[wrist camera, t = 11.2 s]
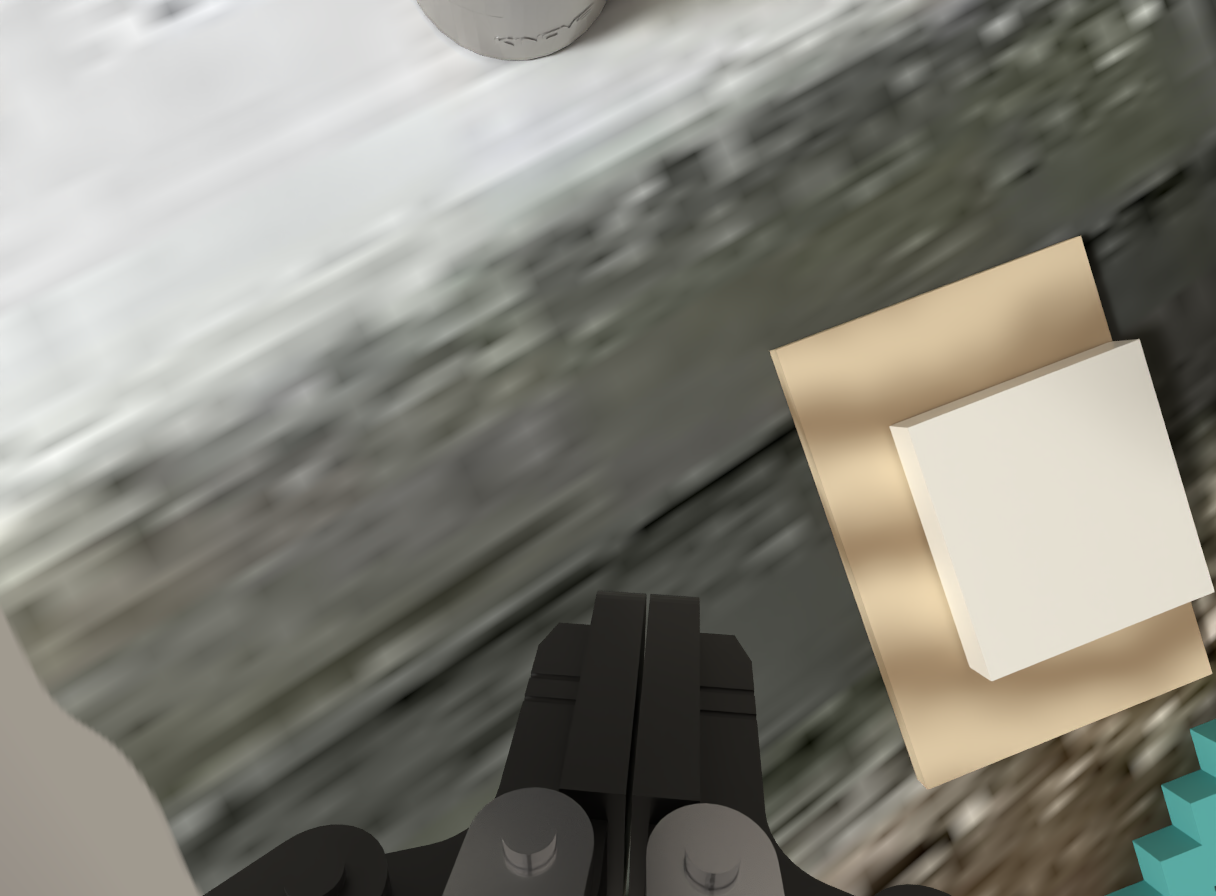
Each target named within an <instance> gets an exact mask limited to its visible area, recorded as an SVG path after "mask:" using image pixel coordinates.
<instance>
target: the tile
mask: <svg viewBox="0 0 1216 896" xmlns="http://www.w3.org/2000/svg"><path fill="white" fill-rule="evenodd" d="M889 427H890V430H891V433H892V436H893V439H894V442H895V445H896V448H897V451H898V454H899V457H900V460H901V463H902V466H903V469H904V472H905V475H906V478H907V481H908V484H909V487H910V490H911V493H912V496H913V499H914V502H915V505H916V508H917V511H918V514H919V517H920V520H921V523H922V526H923V529H924V532H925V535H926V538H927V541H928V544H929V547H930V550H931V553H932V556H933V559H934V562H935V565H936V568H937V571H938V574H939V577H940V580H941V583H942V586H943V589H944V592H945V595H946V598H947V601H948V604H949V607H950V610H951V613H952V616H953V619H954V622H955V625H956V628H957V631H958V634H959V637H960V640H961V643H962V646H963V649H964V652H965V655H966V658H967V661H968V664H969V667H970V668H972V669H973V670H975V671H976V672H978V673H979V674H981V675H982V676H984V677H985V678H987V679H988V680H990V681H994V680H997V679H999V678H1002V677H1004V676H1007V675H1009V674H1012V673H1014V672H1017V671H1019V670H1022V669H1024V668H1027V667H1029V666H1031V665H1034V664H1036V663H1039V662H1041V661H1044V660H1046V659H1049V658H1051V657H1054V656H1056V655H1059V654H1061V653H1064V652H1066V651H1069V650H1071V649H1074V648H1076V647H1079V646H1081V645H1084V644H1086V643H1089V642H1091V641H1094V640H1096V639H1099V638H1101V637H1104V636H1106V635H1109V634H1111V633H1114V632H1116V631H1118V630H1121V629H1123V628H1126V627H1128V626H1131V625H1133V624H1136V623H1138V622H1141V621H1143V620H1146V619H1148V618H1151V617H1153V616H1156V615H1158V614H1161V613H1163V612H1166V611H1168V610H1171V609H1173V608H1176V607H1178V606H1181V605H1183V604H1186V603H1188V602H1191V601H1193V600H1196V599H1198V598H1201V597H1203V596H1205V595H1208V594H1210V593H1213V592H1214V588H1213V585H1212V582H1211V578H1210V575H1209V571H1208V568H1207V565H1206V561H1205V558H1204V555H1203V551H1202V548H1201V545H1200V541H1199V538H1198V534H1197V531H1196V528H1195V524H1194V521H1193V518H1192V514H1191V511H1190V508H1189V504H1188V501H1187V497H1186V494H1185V491H1184V487H1183V484H1182V481H1181V477H1180V474H1179V471H1178V467H1177V464H1176V460H1175V457H1174V454H1173V450H1172V447H1171V444H1170V440H1169V437H1168V433H1167V430H1166V427H1165V423H1164V420H1163V417H1162V413H1161V410H1160V407H1159V403H1158V400H1157V396H1156V393H1155V390H1154V386H1153V383H1152V380H1151V376H1150V373H1149V370H1148V366H1147V363H1146V359H1145V356H1144V353H1143V349H1142V346H1141V343H1140V339H1135V340H1124V341H1112V342H1108V343H1105V344H1102V345H1100V346H1097V347H1095V348H1092V349H1089V350H1087V351H1084V352H1082V353H1079V354H1076V355H1074V356H1071V357H1068V358H1066V359H1063V360H1061V361H1058V362H1055V363H1053V364H1050V365H1048V366H1045V367H1042V368H1040V369H1037V370H1034V371H1032V372H1029V373H1027V374H1024V375H1021V376H1019V377H1016V378H1014V379H1011V380H1008V381H1006V382H1003V383H1000V384H998V385H995V386H993V387H990V388H987V389H985V390H982V391H980V392H977V393H974V394H972V395H969V396H966V397H964V398H961V399H959V400H956V401H953V402H951V403H948V404H946V405H943V406H940V407H938V408H935V409H932V410H930V411H927V412H925V413H922V414H919V415H917V416H914V417H911V418H909V419H906V420H904V421H901V422H898V423H896V424H893V425H891V426H889Z"/></svg>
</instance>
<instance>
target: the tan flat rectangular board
mask: <svg viewBox="0 0 1216 896" xmlns="http://www.w3.org/2000/svg"><path fill="white" fill-rule="evenodd" d="M1108 342H1112V338H1111V335H1110V331H1109V328H1108V325H1107V321H1106V318H1105V315H1104V311H1103V308H1102V305H1101V301H1100V298H1099V295H1098V291H1097V288H1096V285H1095V281H1094V278H1093V275H1092V272H1091V268H1090V265H1089V262H1088V258H1087V255H1086V252H1085V248H1084V245H1083V242H1082V238H1081V236H1078V237H1074V238H1071V239H1068V240H1065V241H1062V242H1059V243H1057V244H1054V245H1051V246H1049V247H1046V248H1043V249H1041V250H1038V251H1035V252H1033V253H1030V254H1027V255H1024V256H1022V257H1019V258H1016V259H1014V260H1011V261H1008V262H1006V263H1003V264H1000V265H998V266H995V267H992V268H990V269H987V270H984V271H982V272H979V273H976V274H974V275H971V276H968V277H966V278H963V279H960V280H958V281H955V282H952V283H950V284H947V285H944V286H942V287H939V288H936V289H934V290H931V291H928V292H926V293H923V294H920V295H918V296H915V297H912V298H910V299H907V300H904V301H902V302H899V303H896V304H894V305H891V306H888V307H886V308H883V309H880V310H878V311H875V312H872V313H869V314H867V315H864V316H861V317H859V318H856V319H853V320H851V321H848V322H845V323H843V324H840V325H837V326H835V327H832V328H829V329H827V330H824V331H821V332H819V333H816V334H813V335H811V336H808V337H805V338H803V339H800V340H797V341H795V342H792V343H789V344H787V345H784V346H781V347H779V348H776V349H773V350H771V351H770V354H771V357H772V359H773V362H774V365H775V368H776V371H777V374H778V377H779V380H780V383H781V385H782V388H783V391H784V394H785V397H786V400H787V403H788V406H789V409H790V412H791V414H792V417H793V420H794V423H795V426H796V429H797V432H798V435H799V438H800V440H801V443H802V446H803V449H804V452H805V455H806V458H807V461H808V464H809V466H810V469H811V472H812V475H813V478H814V481H815V484H816V487H817V490H818V493H819V495H820V498H821V501H822V504H823V507H824V510H825V513H826V516H827V519H828V521H829V524H830V527H831V530H832V533H833V536H834V539H835V542H836V545H837V547H838V550H839V553H840V556H841V559H842V562H843V565H844V568H845V571H846V574H847V576H848V579H849V582H850V585H851V588H852V591H853V594H854V597H855V600H856V602H857V605H858V608H859V611H860V614H861V617H862V620H863V623H864V626H865V629H866V631H867V634H868V637H869V640H870V643H871V646H872V649H873V652H874V655H875V657H876V660H877V663H878V666H879V669H880V672H881V675H882V678H883V681H884V683H885V686H886V689H887V692H888V695H889V698H890V701H891V704H892V707H893V710H894V712H895V715H896V718H897V721H898V724H899V727H900V730H901V733H902V736H903V738H904V741H905V744H906V747H907V750H908V753H909V756H910V759H911V762H912V764H913V767H914V770H915V773H916V776H917V779H918V780H919V781H920V782H921V783H922V784H923V785H924V786H925V788H926V789H927V790H928V789H931V788H933V787H936V786H938V785H940V784H943V783H945V782H948V781H950V780H953V779H955V778H958V777H960V776H962V775H965V774H967V773H970V772H972V771H975V770H977V769H980V768H982V767H985V766H987V765H989V764H992V763H994V762H997V761H999V760H1002V759H1004V758H1007V757H1009V756H1012V755H1014V754H1016V753H1019V752H1021V751H1024V750H1026V749H1029V748H1031V747H1034V746H1036V745H1038V744H1041V743H1043V742H1046V741H1048V740H1051V739H1053V738H1056V737H1058V736H1061V735H1063V734H1065V733H1068V732H1070V731H1073V730H1075V729H1078V728H1080V727H1083V726H1085V725H1088V724H1090V723H1092V722H1095V721H1097V720H1100V719H1102V718H1105V717H1107V716H1110V715H1112V714H1115V713H1117V712H1119V711H1122V710H1124V709H1127V708H1129V707H1132V706H1134V705H1137V704H1139V703H1141V702H1144V701H1146V700H1149V699H1151V698H1154V697H1156V696H1159V695H1161V694H1164V693H1166V692H1168V691H1171V690H1173V689H1176V688H1178V687H1181V686H1183V685H1186V684H1188V683H1191V682H1193V681H1195V680H1198V679H1200V678H1203V677H1205V676H1208V675H1210V674H1212V671H1211V667H1210V664H1209V661H1208V657H1207V654H1206V651H1205V647H1204V644H1203V641H1202V637H1201V634H1200V631H1199V627H1198V624H1197V621H1196V617H1195V614H1194V611H1193V607H1192V604H1191V602H1188V603H1186V604H1183V605H1181V606H1178V607H1176V608H1173V609H1171V610H1168V611H1166V612H1163V613H1161V614H1158V615H1156V616H1153V617H1151V618H1148V619H1146V620H1143V621H1141V622H1138V623H1136V624H1133V625H1131V626H1128V627H1126V628H1123V629H1121V630H1118V631H1116V632H1114V633H1111V634H1109V635H1106V636H1104V637H1101V638H1099V639H1096V640H1094V641H1091V642H1089V643H1086V644H1084V645H1081V646H1079V647H1076V648H1074V649H1071V650H1069V651H1066V652H1064V653H1061V654H1059V655H1056V656H1054V657H1051V658H1049V659H1046V660H1044V661H1041V662H1039V663H1036V664H1034V665H1031V666H1029V667H1027V668H1024V669H1022V670H1019V671H1017V672H1014V673H1012V674H1009V675H1007V676H1004V677H1002V678H999V679H997V680H994V681H990V680H988V679H987V678H985V677H984V676H982V675H981V674H979V673H978V672H976V671H975V670H973V669H972V668H970V667H969V664H968V661H967V658H966V655H965V652H964V649H963V646H962V643H961V640H960V637H959V634H958V631H957V628H956V625H955V622H954V619H953V616H952V613H951V610H950V607H949V604H948V601H947V598H946V595H945V592H944V589H943V586H942V583H941V580H940V577H939V574H938V571H937V568H936V565H935V562H934V559H933V556H932V553H931V550H930V547H929V544H928V541H927V538H926V535H925V532H924V529H923V526H922V523H921V520H920V517H919V514H918V511H917V508H916V505H915V502H914V499H913V496H912V493H911V490H910V487H909V484H908V481H907V478H906V475H905V472H904V469H903V466H902V463H901V460H900V457H899V454H898V451H897V448H896V445H895V442H894V439H893V436H892V433H891V430H890V427H889V426H891V425H893V424H896V423H898V422H901V421H904V420H906V419H909V418H911V417H914V416H917V415H919V414H922V413H925V412H927V411H930V410H932V409H935V408H938V407H940V406H943V405H946V404H948V403H951V402H953V401H956V400H959V399H961V398H964V397H966V396H969V395H972V394H974V393H977V392H980V391H982V390H985V389H987V388H990V387H993V386H995V385H998V384H1000V383H1003V382H1006V381H1008V380H1011V379H1014V378H1016V377H1019V376H1021V375H1024V374H1027V373H1029V372H1032V371H1034V370H1037V369H1040V368H1042V367H1045V366H1048V365H1050V364H1053V363H1055V362H1058V361H1061V360H1063V359H1066V358H1068V357H1071V356H1074V355H1076V354H1079V353H1082V352H1084V351H1087V350H1089V349H1092V348H1095V347H1097V346H1100V345H1102V344H1105V343H1108Z"/></svg>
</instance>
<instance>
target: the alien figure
mask: <svg viewBox="0 0 1216 896" xmlns="http://www.w3.org/2000/svg"><path fill="white" fill-rule="evenodd" d="M1190 732H1191V735H1192V739H1193V742H1194V746H1195V749H1196V753H1197V756H1198V760H1199V763H1200V767H1201V770H1198V771H1195V772H1193V773H1190V774H1188V775H1185V776H1183V777H1180V778H1178V779H1175V780H1173V781H1170V782H1167V783H1165V784H1162V785H1161V787H1162V790H1163V793H1164V797H1165V800H1166V804H1167V807H1168V811H1169V814H1170V817H1171V821H1172V824H1173V825H1171V826H1168V827H1166V828H1163V829H1161V830H1158V831H1156V832H1153V833H1151V834H1148V835H1146V836H1143V837H1141V838H1138V839H1135V840H1133V844H1134V847H1135V851H1136V854H1137V858H1138V861H1139V864H1140V868H1141V871H1142V874H1143V878H1144V880H1143V881H1141V882H1138V883H1136V884H1133V885H1131V886H1128V887H1126V888H1123V889H1121V890H1118V891H1116V892H1113V893H1111V894H1108V895H1106V896H1216V719H1214V720H1212V721H1209V722H1207V723H1204V724H1201V725H1199V726H1196V727H1194V728H1191V729H1190Z"/></svg>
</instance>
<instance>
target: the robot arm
mask: <svg viewBox="0 0 1216 896" xmlns="http://www.w3.org/2000/svg"><path fill="white" fill-rule="evenodd" d="M606 1H607V0H417V2H418V4H419V5H420V7H421V9H422V10H423V12H424V13H425V15H426V16H427V17H428V18H429V19H430V20H431V21H432V23H433V24H434V25H435V26H436V27H437V28H438V29H439V30H440V31H441V32H442V33H443V34H445V35H446V36H447V37H449V38H450V39H452V40H453V41H454V42H456V43H457V44H458V45H460V46H462V47H464V48H466V49H468V50H471V51H473V52H475V53H477V54H480V55H482V56H487V57H492V58H496V59H501V60H529V59H533V58H538V57H542V56H546V55H549V54H552V53H554V52H556V51H558V50H560V49H562V48H564V47H566V46H568V45H570V44H571V43H572V42H573V41H575V40H576V39H577V38H578V37H580V36H581V35H582V34H583V33H585V32H586V31H587V30H588V28H589V27H590V26H591V25H592V23H593V22H594V21H595V20H596V19H597V17H598V16H599V15H600V13H601V11H602V9H603V7H604V5H605V3H606ZM645 625H646V594H641V593H626V592H612V591H597V595H596V599H595V605H594V610H593V615H592V620H591V625H584V624H571V623H559V624H558V625H557V626H556V627H555V628H554V629H553V630H552V631H551V632H550V633H549V635H548V636H547V637H546V638H545V639H544V640H543V641H542V642H541V643H540V644H539V646H538V650H537V653H536V657H535V660H534V664H533V668H532V671H531V678H529V682H528V686H527V689H526V693H525V699H524V701H523V704H522V707H521V711H520V714H519V718H518V722H517V725H516V729H515V732H514V736H513V740H512V743H511V747H510V750H509V754H508V757H507V761H506V765H505V768H504V772H503V775H502V779H501V783H500V786H499V789H498V792H497V795H496V797H495V799H494V800H492V801H491V802H490V803H488V804H487V805H486V806H485V807H484V808H483V809H482V810H481V811H480V812H479V813H478V814H477V815H476V817H475V818H474V820H473V821H472V823H471V825H470V827H469V828H468V829H466V830H465V831H463V832H461V833H459V834H458V835H456V836H454V837H452V838H449V839H447V840H444V841H442V842H438V843H434V844H431V845H426V846H421V847H416V848H411V849H406V850H402V851H397V852H392V853H387V854H385V853H384V850H383V848H382V846H381V845H380V843H379V842H378V841H377V840H376V839H375V838H374V837H373V836H372V835H371V834H369V833H368V832H366V831H364V830H363V829H360V828H357V827H354V826H348V825H327V826H320V827H316V828H313V829H310V830H307V831H304V832H302V833H300V834H297V835H295V836H294V837H292V838H290V839H289V840H287V841H285V842H284V843H282V844H281V845H279V846H278V847H276V848H275V849H273V850H272V851H270V852H268V853H267V854H265V855H264V856H262V857H261V858H259V859H258V860H256V861H255V862H253V863H252V864H250V865H249V866H247V867H246V868H244V869H243V870H241V871H240V872H238V873H237V874H235V875H234V876H232V877H231V878H229V879H228V880H226V881H225V882H223V883H221V884H220V885H218V886H217V887H215V888H214V889H212V890H211V891H209V892H208V893H206V894H205V895H203V896H625V892H626V881H627V870H628V858H629V847H630V874H629V896H854V895H852V894H849V893H847V892H844V891H842V890H839V889H837V888H835V887H832V886H830V885H827V884H825V883H823V882H821V881H819V880H817V879H815V878H813V877H812V876H810V875H809V874H807V873H806V872H804V871H803V870H801V869H800V868H799V867H798V866H796V865H795V864H794V863H793V862H792V861H791V860H790V859H789V858H788V857H787V856H786V855H785V854H784V853H783V851H782V850H781V849H780V847H779V846H778V844H777V843H776V841H775V839H774V838H773V836H772V834H771V832H770V829H769V826H768V823H767V819H766V814H765V804H764V793H763V782H762V771H761V760H760V749H759V738H758V727H757V720H756V705H755V696H754V683H753V672H752V661H751V660H750V658H749V657H748V655H747V654H746V652H745V651H744V649H743V648H742V646H741V645H740V643H739V642H738V640H737V638H736V637H735V635H722V634H708V633H700V601H699V597H686V596H672V595H658V594H650V604H649V615H648V626H647V637H646V648H645ZM644 651H645V659H644ZM630 836H631V844H630ZM875 896H951V895H949V894H947V893H945V892H942V891H940V890H937V889H934V888H931V887H926V886H921V885H909V884H906V885H897V886H893V887H890V888H887V889H884V890H882V891H881V892H879V893H877V894H876V895H875Z"/></svg>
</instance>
